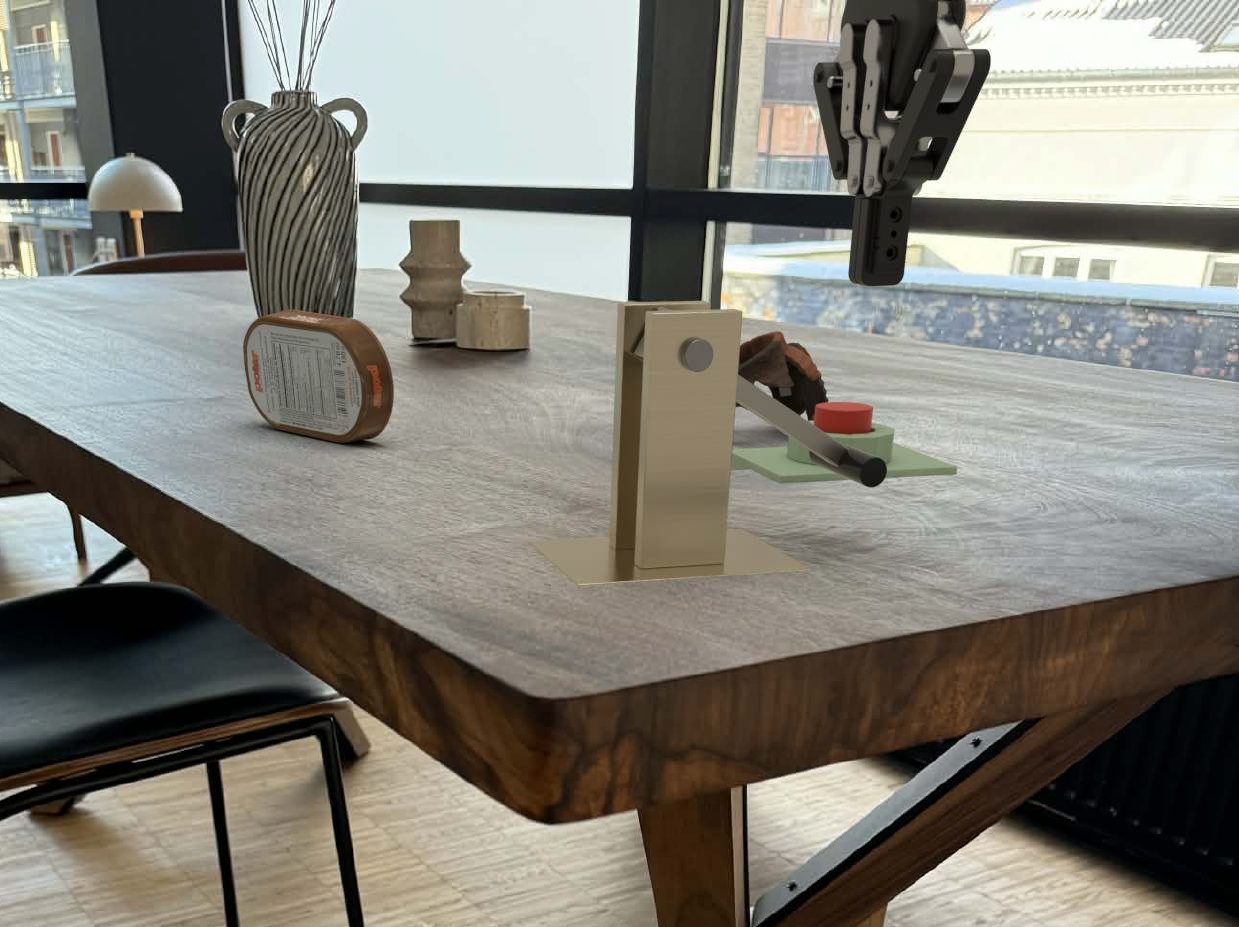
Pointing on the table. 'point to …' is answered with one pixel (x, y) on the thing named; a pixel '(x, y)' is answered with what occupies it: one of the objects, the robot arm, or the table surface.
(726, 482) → the bracket
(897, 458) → the housing
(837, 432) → the button
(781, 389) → the crumpled brown leather
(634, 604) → the table surface
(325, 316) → the tin
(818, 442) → the lever
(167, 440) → the table surface
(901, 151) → the robot arm
